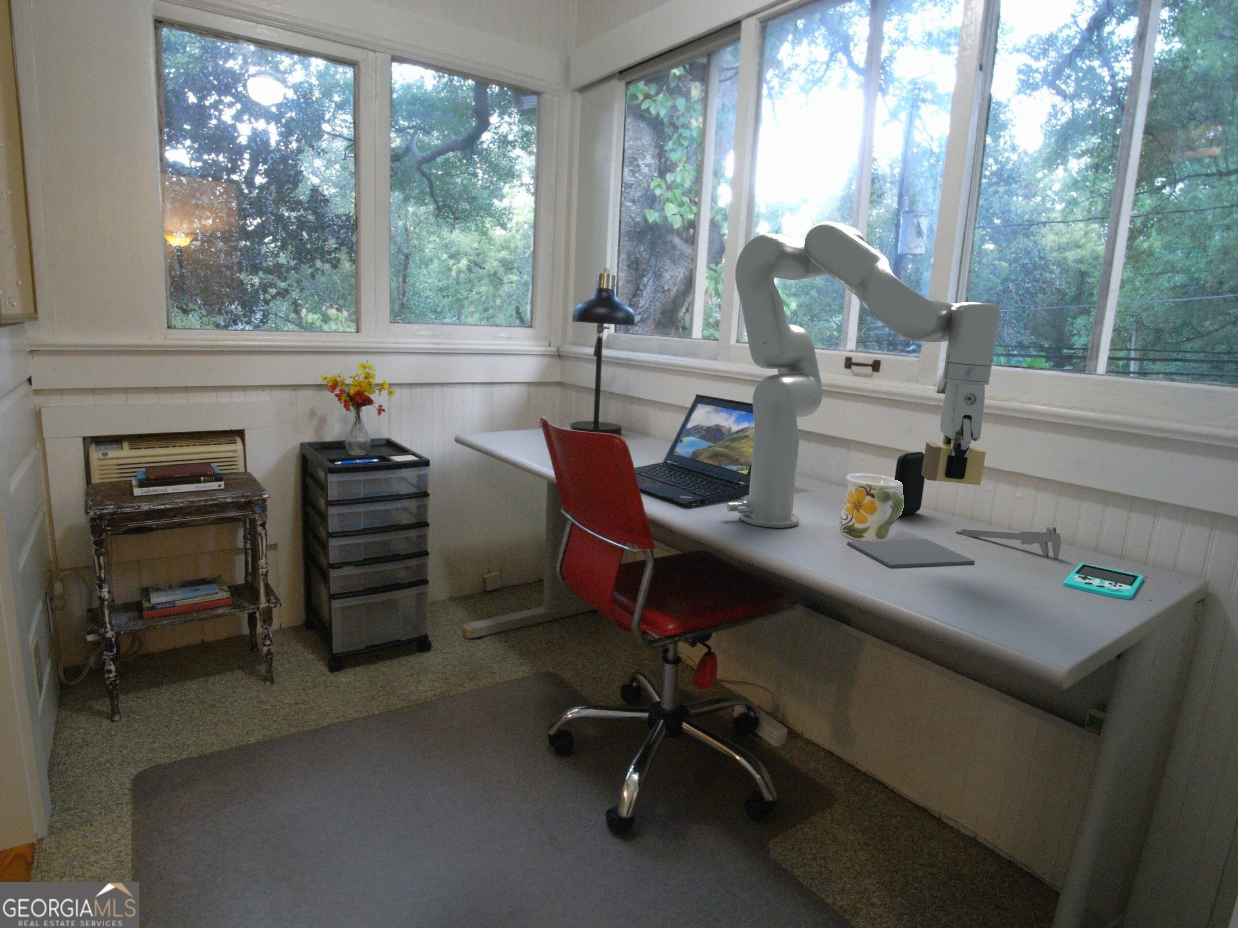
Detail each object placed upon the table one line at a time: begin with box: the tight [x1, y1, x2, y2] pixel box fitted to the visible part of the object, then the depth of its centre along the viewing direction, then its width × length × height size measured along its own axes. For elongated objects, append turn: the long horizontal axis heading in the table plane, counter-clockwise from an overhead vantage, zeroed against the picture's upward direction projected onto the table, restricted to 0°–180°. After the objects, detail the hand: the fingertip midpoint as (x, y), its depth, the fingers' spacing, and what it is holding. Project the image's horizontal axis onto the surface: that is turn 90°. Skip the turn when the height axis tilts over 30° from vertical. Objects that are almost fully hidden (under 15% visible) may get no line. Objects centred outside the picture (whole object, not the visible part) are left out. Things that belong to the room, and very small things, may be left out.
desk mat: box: [846, 538, 976, 569], centre depth 142 cm, size 18×14×1 cm
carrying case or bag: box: [894, 451, 926, 517], centre depth 171 cm, size 11×3×15 cm, turn 126°
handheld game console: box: [1062, 562, 1144, 600], centre depth 131 cm, size 10×16×1 cm, turn 139°
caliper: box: [955, 526, 1062, 560], centre depth 151 cm, size 20×1×6 cm, turn 37°
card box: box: [921, 441, 987, 486], centre depth 134 cm, size 5×9×6 cm, turn 79°
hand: (950, 473), depth 135 cm, fingers closed on card box, 4 cm apart
